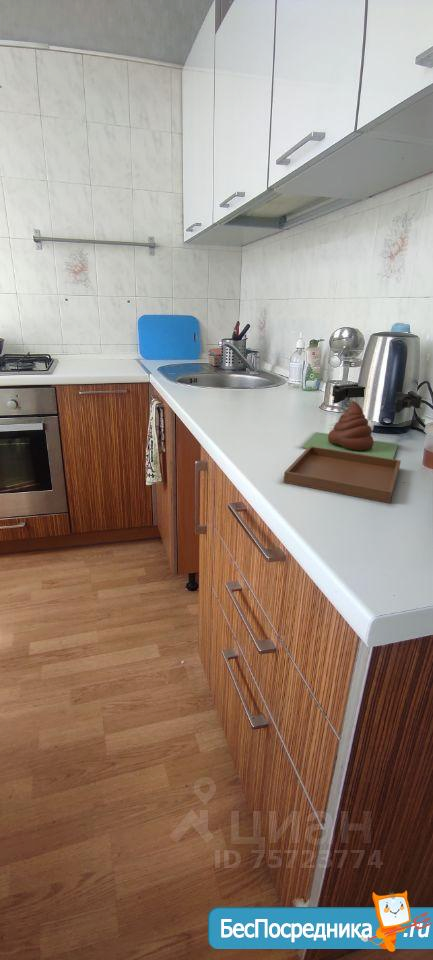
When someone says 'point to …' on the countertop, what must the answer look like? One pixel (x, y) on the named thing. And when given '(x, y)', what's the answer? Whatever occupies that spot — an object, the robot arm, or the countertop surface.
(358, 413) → the poop emoji
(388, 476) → the tray
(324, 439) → the mat
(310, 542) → the countertop surface
